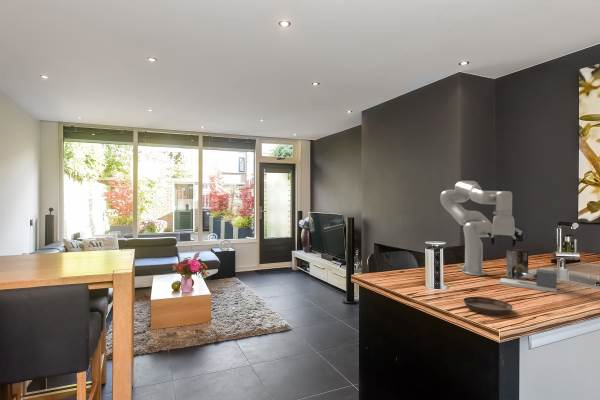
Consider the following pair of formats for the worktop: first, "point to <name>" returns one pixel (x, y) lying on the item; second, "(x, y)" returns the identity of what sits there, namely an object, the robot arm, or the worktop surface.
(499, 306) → the plant saucer
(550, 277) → the block
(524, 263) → the coffee box
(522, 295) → the worktop surface
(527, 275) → the shaft
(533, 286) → the base board
